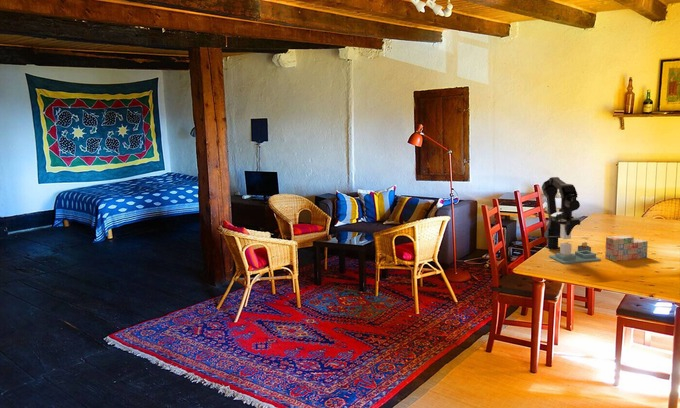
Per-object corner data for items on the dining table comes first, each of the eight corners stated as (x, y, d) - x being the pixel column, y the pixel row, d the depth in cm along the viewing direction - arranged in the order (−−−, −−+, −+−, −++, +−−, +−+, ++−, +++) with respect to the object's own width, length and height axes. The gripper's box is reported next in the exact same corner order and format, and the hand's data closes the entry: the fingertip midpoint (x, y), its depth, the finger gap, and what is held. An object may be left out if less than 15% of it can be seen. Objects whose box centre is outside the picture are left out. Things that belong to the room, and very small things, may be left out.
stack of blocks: (638, 255, 299) (639, 233, 297) (647, 257, 293) (648, 235, 291) (604, 258, 295) (605, 236, 293) (612, 261, 289) (614, 239, 287)
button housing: (577, 250, 311) (577, 245, 311) (585, 250, 312) (585, 245, 312) (582, 252, 307) (583, 247, 306) (590, 252, 307) (591, 247, 307)
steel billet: (560, 237, 302) (560, 223, 301) (566, 237, 303) (567, 223, 301) (564, 239, 298) (564, 225, 297) (570, 238, 299) (571, 224, 297)
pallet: (549, 257, 300) (549, 241, 299) (584, 254, 304) (585, 238, 303) (563, 263, 287) (564, 247, 285) (600, 260, 290) (601, 244, 289)
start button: (580, 247, 310) (580, 242, 310) (585, 246, 311) (585, 241, 310) (583, 248, 307) (583, 243, 307) (588, 247, 308) (588, 242, 307)
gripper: (544, 205, 306) (543, 232, 308) (562, 210, 287) (561, 239, 290) (562, 204, 307) (561, 231, 310) (581, 209, 289) (580, 237, 291)
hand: (565, 234), depth 300 cm, fingers closed on steel billet, 4 cm apart
